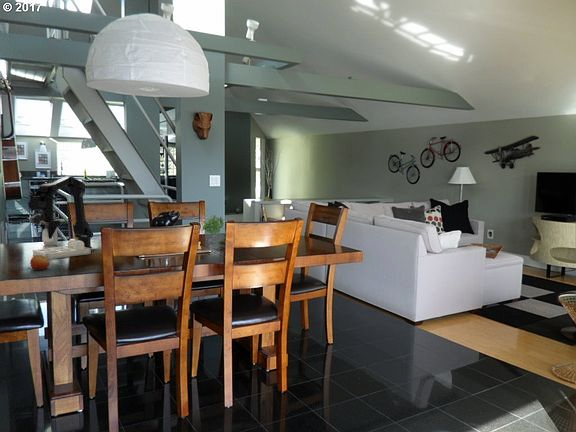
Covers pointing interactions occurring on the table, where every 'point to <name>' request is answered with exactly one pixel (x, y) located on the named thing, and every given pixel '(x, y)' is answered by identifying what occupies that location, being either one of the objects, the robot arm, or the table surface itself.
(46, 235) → the egg
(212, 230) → the plant cuttings
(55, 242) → the can
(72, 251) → the carton
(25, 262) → the table surface
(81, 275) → the table surface
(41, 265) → the fruit
